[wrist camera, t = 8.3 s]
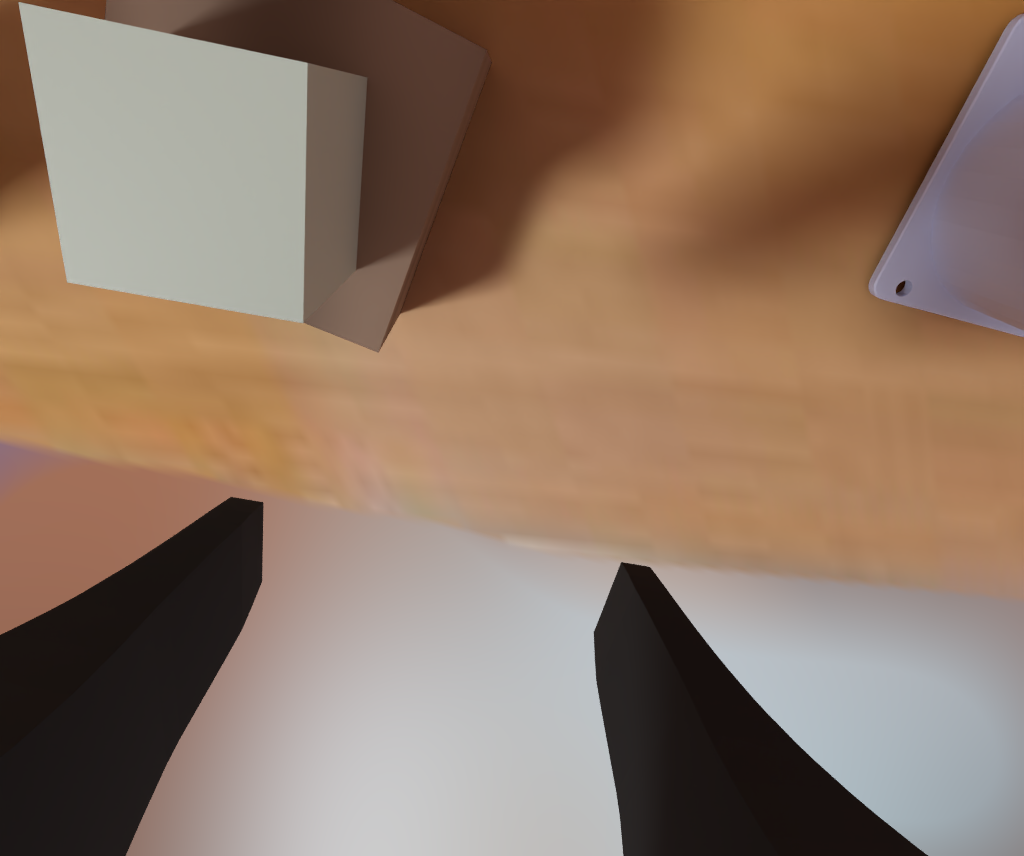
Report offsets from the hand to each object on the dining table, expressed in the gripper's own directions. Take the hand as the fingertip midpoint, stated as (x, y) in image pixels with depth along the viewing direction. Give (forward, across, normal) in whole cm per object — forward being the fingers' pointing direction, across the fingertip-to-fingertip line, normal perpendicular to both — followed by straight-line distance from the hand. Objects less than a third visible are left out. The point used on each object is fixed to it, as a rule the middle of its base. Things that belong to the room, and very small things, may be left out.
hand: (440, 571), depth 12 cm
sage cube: (+7, +6, -6) cm, 11 cm away
